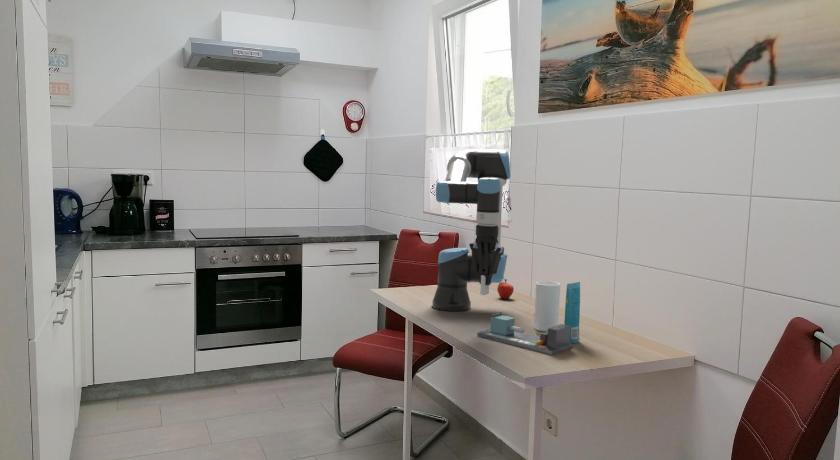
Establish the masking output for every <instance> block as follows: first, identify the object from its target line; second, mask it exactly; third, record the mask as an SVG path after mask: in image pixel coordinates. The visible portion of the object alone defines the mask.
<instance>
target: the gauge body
mask: <svg viewBox="0 0 840 460" xmlns="http://www.w3.org/2000/svg"><path fill="white" fill-rule="evenodd" d="M515 320H516V319H515V317H512V316H507V315H504V314H503V313H502V312H496V313H494V314H491V317H490V328H489V329H490V332H493V333H497V334H501V335H509V334H512V333H514V331H516V332H520V333H524V332H525V328H524V327H519V326H516V325H515V322H516V321H515Z"/></svg>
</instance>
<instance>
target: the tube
mask: <svg viewBox="0 0 840 460" xmlns="http://www.w3.org/2000/svg"><path fill="white" fill-rule="evenodd" d="M564 307H565V308H564V319H563V320H564V323H563V325H568V326H570V339H569V343H571V344H577V343H579V341H580V317H581V315H580V314H581V313H580V309H581V282H580V281H576V282H572V283H571V282H570V283H567V284H566V292H565V306H564Z"/></svg>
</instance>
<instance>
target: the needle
mask: <svg viewBox="0 0 840 460" xmlns="http://www.w3.org/2000/svg"><path fill="white" fill-rule="evenodd" d="M539 336H540V341H537V342H535V345H540V344H547V339H548V332H546V331H543V332H541V333H540V335H539Z"/></svg>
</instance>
